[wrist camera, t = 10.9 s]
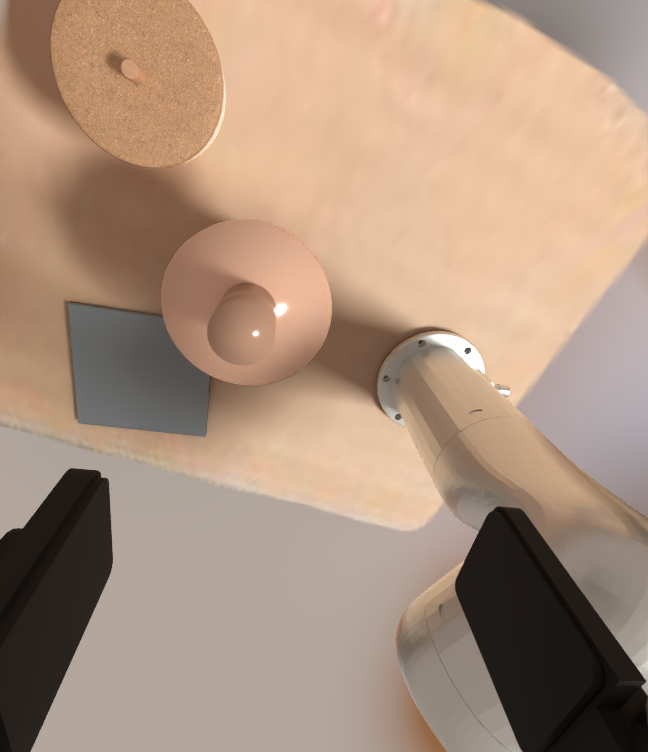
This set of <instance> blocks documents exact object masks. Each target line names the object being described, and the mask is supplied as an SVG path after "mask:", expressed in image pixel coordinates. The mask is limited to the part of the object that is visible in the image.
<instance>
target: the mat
mask: <svg viewBox="0 0 648 752" xmlns="http://www.w3.org/2000/svg"><path fill="white" fill-rule="evenodd" d="M68 315H69V327H70V338H71V350H72V361H73V373H74V384H75V396H76V407H77V418H78V423H81V424H90V425H100V426H109V427H119V428H128V429H138V430H147V431H156V432H166V433H175V434H185V435H194V436H203V437H205V435H206V428H207V415H208V402H209V389H210V375H208V374H207V373H205V372H203V371H201V370H200V369H199V368H197V367H196V366H195V365H193V364H192V363H191V362H190V361H189V360H188V359H187V358H186V357H185V356H184V355H183V354H182V353H181V352H180V351H179V349H178V348H177V347H176V345H175V344H174V342H173V341H172V339H171V337H170V335H169V333H168V331H167V328H166V325H165V322H164V320H163V316H160V315H154V314H147V313H141V312H134V311H127V310H121V309H114V308H108V307H101V306H94V305H88V304H81V303H75V302H69V303H68Z"/></svg>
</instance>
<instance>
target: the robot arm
mask: <svg viewBox="0 0 648 752" xmlns="http://www.w3.org/2000/svg"><path fill="white" fill-rule="evenodd" d="M420 340H421V342H419V341H420ZM465 348H466V349H465ZM385 375H387V376H386V377H384V376H385ZM509 394H510V388H509V386H507V385H501V384H494V383H493V382H492V381H491V380H490V379H489V378H488V377H487V376H486V375H485V368H484V362H483V360H482V358H481V355H480V353H479V352H478V351H477V349H476V348H475V347H474V346H473V345H472V344H471V343H470V342H469V341H468V340H466V339H464V338H463V337H461V336H460V335H457V334H454V333H452V332H446V331H429V332H424V333H420V334H417V335H415V336H412V337H410V338H408V339H407V340H405V341H403V342H402V343H400V344H399V345H398V346H397V347H396V348H394V349H393V350H392V351H391V353H390V354H389V355H388V356H387V357H386V359H385V361H384V362H383V364H382V366H381V368H380V371H379V374H378V378H377V395H378V398H379V401H380V404H381V406H382V408H383V410H384V411H385V413H386V414H387V415H388V417H390V418H391V419H392V420H393V421H394V422H396V423H398V424H399V425H401V426H403V427H407V429H408V431H409V433H410V435H411V437H412V439H413V441H414V443H415V445H416V448H417V450H418V452H419V454H420V456H421V458H422V460H423V462H424V464H425V466H426V468H427V470H428V472H429V474H430V476H431V478H432V480H433V482H434V484H435V486H436V488H437V490H438V492H439V494H440V496H441V498H442V500H443V501H444V503H445V505H446V506H447V507H448V509H449V510H450V511H451V512H452V513H453V514H454V515H455V516H456V517H457V518H458V519H459V520H461V521H462V522H463V523H465V524H467V525H468V526H470V527H472V528H474V529H476V530H478V531H479V533H478V535H477V537H476V539H475V541H474V543H473V545H472V547H471V549H470V551H469V553H468V555H467V557H466V559H465V560H464V561H463V562H461V563H460V564H459V565H458V566H456V567H455V568H454V569H452V570H451V571H450V572H449V573H447V574H446V575H445V576H443V577H442V578H441V579H439V580H438V581H437V582H436V583H434V584H433V585H432V586H430V587H429V588H428V589H427V590H426V591H424V592H423V593H422V594H421V595H420V596H419V597H417V598H416V599H415V600H414V601H413V602H412V603H411V604H410V605H409V606H408V608H407V609H406V610H405V612H404V613H403V615H402V617H401V619H400V622H399V624H398V628H397V634H396V648H397V657H398V661H399V665H400V668H401V672H402V675H403V678H404V680H405V683H406V685H407V687H408V690H409V692H410V694H411V696H412V698H413V700H414V702H415V704H416V705H417V707H418V709H419V711H420V712H421V714H422V716H423V717H424V719H425V720H426V722H427V723H428V725H429V727H430V728H431V730H432V731H433V733H434V734H435V735H436V737H437V738H438V739H439V741H440V742H441V744H442V745H443V746H444V748H445V749H446V750H447V752H648V518H647V517H646V516H645V515H643V514H642V513H640V512H639V511H638V510H636V509H634V508H633V507H632V506H630V505H629V504H628V503H626V502H625V501H623V500H622V499H621V498H619V497H618V496H616V495H615V494H614V493H612V492H611V491H609V490H608V489H607V488H605V487H604V486H602V485H601V484H600V483H599V482H597V481H596V480H595V479H593V478H592V477H591V476H590V475H588V474H587V473H586V472H584V471H583V470H582V469H581V468H579V467H578V466H577V465H576V464H575V463H574V462H573V461H572V460H570V459H569V458H568V457H567V456H566V455H565V454H564V453H563V452H562V451H560V450H559V449H558V448H557V447H556V446H555V445H554V444H553V443H552V442H551V441H550V440H548V438H546V437H545V436H544V435H543V434H542V433H541V432H540V431H539V430H538V429H537V428H536V427H535V426H534V425H533V424H532V423H531V422H530V421H529V420H527V418H526V417H525V416H524V415H523V414H522V413H521V412H520V411H518V410H517V409H516V408H515V407H514V406H513V405H512V404H511V403H510V402H509V401H508V400H507V399H506V398H505V397H508V396H509ZM112 563H113V553H112V534H111V515H110V495H109V481H108V479H107V478H101V473H100V472H99V471H96V470H85V469H74V468H71V469H69V470H68V471H67V472H66V473H65V474H64V475H63V477H62V478H61V479H60V481H59V482H58V483H57V485H56V486H55V487H54V488H53V490H52V491H51V492H50V494H49V495H48V496H47V498H46V499H45V500H44V502H43V503H42V504H41V506H40V507H39V508H38V510H37V511H36V512H35V513H34V515H33V516H32V517H31V519H30V520H29V522H28V523H27V524H26V525H25V527H24V528H23V529H20V528H18V529H12V530H11V531H9V532H7V533H6V534H5V535H4V536H3V537H2V538H1V540H0V752H30V751H31V749H32V747H33V745H34V743H35V740H36V738H37V736H38V734H39V731H40V729H41V727H42V725H43V723H44V720H45V718H46V716H47V713H48V711H49V709H50V707H51V705H52V703H53V700H54V698H55V696H56V694H57V691H58V689H59V687H60V685H61V683H62V680H63V678H64V676H65V673H66V671H67V669H68V667H69V665H70V662H71V660H72V658H73V656H74V654H75V651H76V649H77V647H78V645H79V643H80V640H81V638H82V636H83V634H84V631H85V629H86V627H87V625H88V622H89V620H90V618H91V616H92V614H93V611H94V609H95V607H96V605H97V603H98V600H99V598H100V596H101V593H102V591H103V589H104V587H105V585H106V583H107V580H108V578H109V575H110V572H111V568H112Z"/></svg>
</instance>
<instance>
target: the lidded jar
mask: <svg viewBox="0 0 648 752" xmlns="http://www.w3.org/2000/svg"><path fill="white" fill-rule="evenodd" d="M50 55H51V62H52V68H53V73H54V77H55V80H56V84H57V87H58V89H59V92H60V94H61V96H62V99H63V101H64V103H65V105H66V107H67V109H68V110H69V112H70V114H71V115H72V117H73V118H74V120H75V121H76V122H77V124H78V125H79V127H80V128H81V129H82V130H83V131H84V132H85V134H86V135H87V136H88V137H89V138H90V139H91V140H92V141H93V142H95V143H96V144H97V145H98V146H99V147H101V148H102V149H103V150H104V151H106V152H108V153H109V154H111V155H112V156H114V157H116V158H118V159H120V160H122V161H124V162H127V163H129V164H133V165H136V166H140V167H147V168H167V167H172V166H177V165H181V164H185V163H187V162H189V161H191V160H194V159H195V158H197V157H198V156H199V155H201V154H202V153H204V152H205V151H206V150H207V148H208V147H209V146H210V145H211V144H212V142H213V141H214V139H215V138H216V136H217V134H218V132H219V130H220V128H221V125H222V121H223V118H224V112H225V105H226V89H225V81H224V74H223V71H222V67H221V63H220V60H219V56H218V52H217V50H216V47H215V45H214V42H213V40H212V37H211V35H210V33H209V31H208V29H207V27H206V26H205V24H204V22H203V20H202V18H201V17H200V16H199V14H198V13H197V12H196V10H195V9H194V7H193V6H192V5H191V4H190V2H189V1H188V0H61V1H60V3H59V5H58V7H57V9H56V12H55V15H54V19H53V22H52V28H51V36H50Z"/></svg>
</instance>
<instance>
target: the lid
mask: <svg viewBox="0 0 648 752" xmlns="http://www.w3.org/2000/svg"><path fill="white" fill-rule="evenodd" d="M161 310H162V315H163V320H164V322H165V325H166V328H167V331H168V333H169V335H170V337H171V339H172V341H173V342H174V344H175V345H176V347H177V348H178V349H179V351H180V352H181V353H182V354H183V355H184V356H185V357H186V358H187V359H188V360H189V361H190V362H191V363H192V364H193V365H195V366H196V367H197V368H199V369H200V370H201V371H203V372H205V373H207V374H208V375H210V376H212V377H215V378H217V379H219V380H222V381H226V382H229V383H233V384H239V385H264V384H270V383H274V382H277V381H280V380H283V379H285V378H287V377H290V376H291V375H293V374H295V373H297V372H298V371H300V370H301V369H302V368H304V367H305V366H306V365H307V364H308V363H309V362H310V361H311V360H312V359H313V358H314V357H315V355H316V354H317V353H318V352H319V350H320V348H321V347H322V345H323V343H324V341H325V339H326V337H327V334H328V331H329V328H330V324H331V317H332V299H331V292H330V288H329V285H328V281H327V279H326V276H325V274H324V272H323V269H322V267H321V266H320V264H319V262H318V260H317V259H316V257H315V256H314V255H313V254H312V252H311V251H310V250H309V249H308V248H307V247H306V246H305V245H304V244H303V243H302V242H301V241H300V240H298V239H297V238H296V237H294V236H293V235H292V234H290V233H288V232H287V231H285V230H283V229H281V228H279V227H276V226H274V225H271V224H268V223H264V222H260V221H254V220H231V221H225V222H221V223H217V224H214V225H211V226H209V227H207V228H205V229H203V230H201V231H199V232H198V233H196V234H195V235H193V236H192V237H190V238H189V239H188V240H187V241H186V242H185V243H184V244H183V245H182V246H180V248H179V249H178V250H177V252H176V253H175V254H174V255H173V257H172V259H171V261H170V262H169V264H168V266H167V269H166V271H165V274H164V277H163V282H162V286H161Z"/></svg>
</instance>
